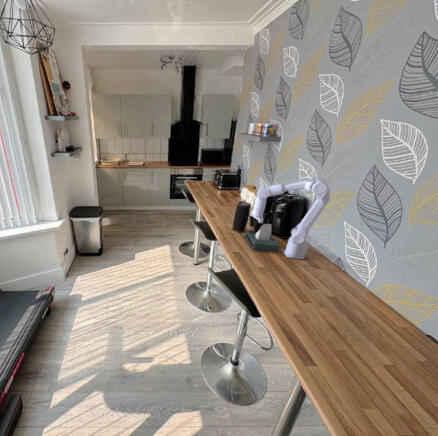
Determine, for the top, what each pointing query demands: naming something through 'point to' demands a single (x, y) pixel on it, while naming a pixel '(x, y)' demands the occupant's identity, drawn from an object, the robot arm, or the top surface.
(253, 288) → the top surface
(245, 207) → the portable speaker
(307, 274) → the top surface
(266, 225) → the light grey block
